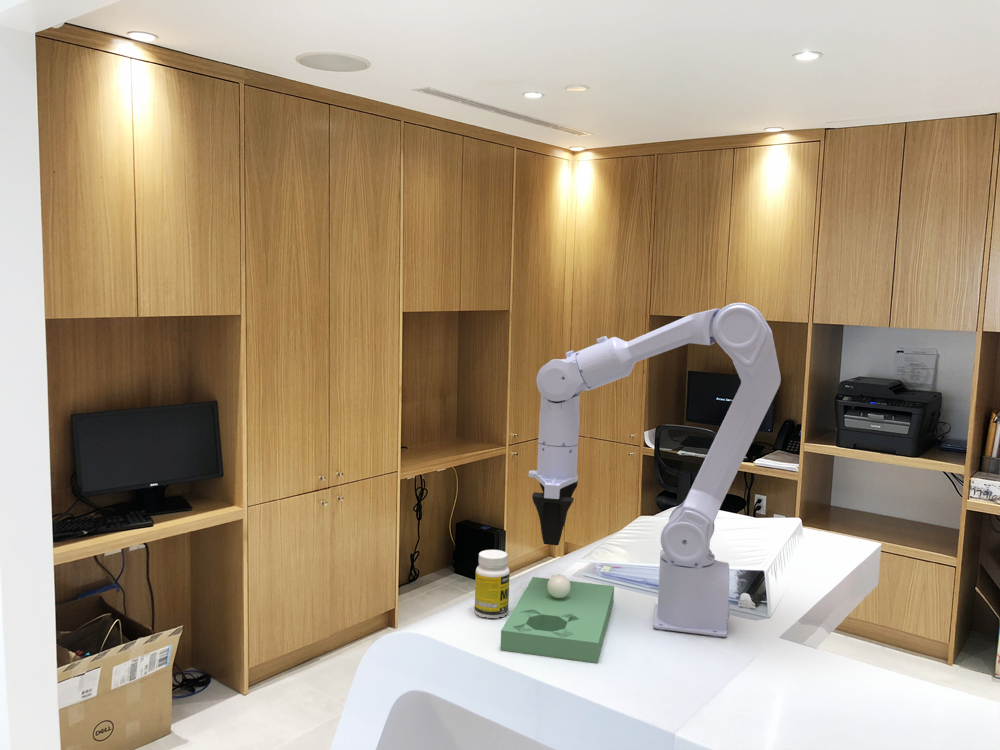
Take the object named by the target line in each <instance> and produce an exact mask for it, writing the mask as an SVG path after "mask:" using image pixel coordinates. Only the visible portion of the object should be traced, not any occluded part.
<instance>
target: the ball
mask: <svg viewBox="0 0 1000 750" xmlns="http://www.w3.org/2000/svg"><path fill="white" fill-rule="evenodd" d="M548 579H549V581H548V584H547V588H548V591H549V593H550V594H551V595H552V596H553V597H555V598H563V597H565V596H567V595H568V593H569V591H570V582H569V581H570V579H568V577H567V576H565V575H564V574H555V575H552V576H551V577H550V578H548Z"/></svg>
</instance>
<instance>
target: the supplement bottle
mask: <svg viewBox="0 0 1000 750" xmlns="http://www.w3.org/2000/svg"><path fill="white" fill-rule="evenodd" d="M508 557H509V556H508V553H507V552H506V551H503V550H500V549H485V550H482V551H480V552H479V553H478V565H477V567H476V569H475V580H474V581H475V585H474V589H475V590H474V613H475V615H477V616H478V615H480V616H483V617H487V618H486V619H488V618H497V619H500V618H499V617H502V618H504V617H506V616H507V615H508V614H509V605H510V604H509V603H510V600H509V596H510V576H511V575H510V574H511V573H510V568H509V567H508V562H509V560H508ZM505 615H506V616H505ZM480 616H479V617H480Z"/></svg>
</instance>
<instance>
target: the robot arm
mask: <svg viewBox="0 0 1000 750" xmlns="http://www.w3.org/2000/svg"><path fill="white" fill-rule="evenodd" d="M773 336H774V335H773V331H772V329H771V327H770V326H769V324H768V321H766V319H765V317H764V315H763V314H762V312H761V311H759V310H758V308H756V307H755V306H753V305H751V304H748V303H744V302H733V303H730V304H728V305H725V306H724V307H722V308H712V309H709V310H705V311H700V312H696V313H692V314H689V315H687V316H684V317H682V318H680V319H677V320H675V321H671V323H668V324H665V325H664V326H660V327H659V328H657V329H654V330H652V331H648V333H645V334H642V335H640V336H638V337H635V338H633V339H630V340H629V341H626V340H625V339H624V340H623V339H621V338H619V337H617V336H613V337H610V338H608V336H606V335H605V336H601V337H598V338H596V343H595V344H592V345H591V346H588V347H585V348H583V349H580V350H577V351H576V352H575V351H574V349H573V350H570V351H567V352H566V353H565V356H566V358H560V359H558V358H557V359H555V358H554V359H551V360H549V361H548V362H547V363H545V364H544V365H543V366H541V368H539V371H537V375H536V380H535V381H536V383H535V384H536V388H537V389H538V392H539V394H540V407H539V408H540V409H539V416H538V423H539V424H538V437H537V438H538V441H537V461H536V462H537V463H536V470H533V469H531V470H529V471H528V475H527V476H528V477H529V478H533V479H536V481H538V483H539V486H540V488H541V491H542V492H535V491H534V492H533V493H532V497H531V498H532V502H533V505H534V506H535V509H536V511H537V515H538V518H539V523H540V529H541V530H540V531H541V537H542V542H543V545H550V546H559V545H560V541H561V538H562V533H563V530H564V527H565V524H566V520H567V515H568V511H569V509H570V507H571V505H572V504H573V502H574V500H575V499H574V497H572V496H573V494H574V492H575V490H576V489H577V488H578V486H579V485H578V483H579V482H578V481H579V474H578V460H579V459H578V458H579V457H578V455H579V440H580V439H579V434H580V421H581V420H580V418H581V417H580V415H581V413H580V402H581V401H580V400H581V399H580V397H581V396H580V395H581V394H582V393H583V392H584V391H586V392H587V391H592V390H595V389H597V388H599V387H603V386H606V385H608V384H610V383H613V382H615V381H618V380H621V379H624V378H626V377H629V376H630V375H631V374H632V371H633V369H634V366H635V365H636V363H637V362H640V361H643V360H646V359H648V358H651V357H655V356H657V355H660V354H662V353H665V352H668V351H671V350H673V349H677V348H679V347H682V346H685V345H687V344H693V345H694V344H695V345H705V346H712V345H714V344H715V343H717V345H719V346H720V348H721V349H722V351H724V352H725V353H726V355H727V356H729V358H730V359H731V360H732V363H733V365H734V367H735V368H734V369H735V370H736V373H737V375H738V378H739V380H740V385H739V387H738V389H737V392H736V393H735V396H734V397H733V399H732V401H731V404H730V406H729V408H728V410H727V412H726V415H725V416H724V419H723V421H722V423H721V425H720V427H719V429H718V431H717V433H716V434H715V437H714V439H713V442H712V443H711V446H710V448H709V450H708V452H707V454H706V457H705V458H704V460H703V463H702V465H701V466H700V469H699V470H698V473H697V475H696V476H695V479H694V481H693V483H692V485H691V488H690V489H689V491H688V493H687V496H686V498H685V499H684V500H683V502H682V503H680V504H679V505H677V506H676V507H675V508H673V510H672V511H671V513H670V515H669V519H668V521H667V522H666V524H665V526H663V528H662V531H661V534H660V545H661V550H660V552H659V553H660V554H659V572H658V573H659V574H658V595H657V604H655V608H654V615H653V621H652V625H653V626H652V627H653V628H654V629H655V630H656V629H657V630H663V631H664V630H665V631H673V632H681V633H689V634H698V635H705V636H711V637H712V636H713V637H720V638H721V637H722V638H723V637H724V638H726V637H728V619H729V617H730V614H731V613H730V611H731V609H730V607H731V605H730V603H729V601H730V600H729V597H730V563H729V562H726V561H722V560H721V561H720V560H717V559H716V558H715V554H714V553H713V552H712V550H711V549H710V547H711V539H712V537H713V536H714V531H715V520H716V518H717V516H718V514H719V511H720V509H721V506H722V505H723V502H724V500H725V498H726V495H727V494H728V492H729V490H730V489H731V486H732V484H733V481H734V480H735V478H736V475H737V474H738V471H739V469H740V467H741V465H742V463H743V461H744V459H745V457H746V455H747V454H748V451H749V449H750V447H751V445H752V443H753V441H754V439H755V437H756V435H757V433H758V431H759V429H760V426H761V424H762V422H763V420H764V419H765V416H766V414H767V412H768V410H769V408H770V406H771V404H772V402H773V400H774V399H775V396H776V394H777V391H778V390H779V388H780V385H781V381H782V379H781V378H782V377H781V372H780V367H779V361H778V357H777V350H776V346H775V342H774V341H775V340H774V337H773Z"/></svg>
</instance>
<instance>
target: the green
mask: <svg viewBox="0 0 1000 750" xmlns="http://www.w3.org/2000/svg"><path fill="white" fill-rule="evenodd" d="M549 579H550V578H546V577H537V576H532V578H531V579H530V582H529V583H528V585H527V586H526V588H525V590H524V591H523V593H522V595H521V596H520V597H519V599H518V601H517V603H516V605H515V606H514V607H513V610H512V611H511V613H510V615H509V616H508V618H507V619H506V622H505V623H504V625H503V627H502V628H501V630H500V649H501V650H500V651H505V650H507V651H506V652H512V651H513V653H522V654H526V655H527V654H529V655H536V656H542V657H549V658H557V659H564V660H572V661H578V662H579V661H580V662H586V663H594V664H598V663H599V658H600V655H601V651H602V647H603V644H604V640H605V637H606V632H607V628H608V626H609V621H610V618H611V613H612V610H613V606H614V597H615V586H614V585H608V584H600V583H591V582H581V581H574V580H573V581H572V580H569V582H570V591H569V593H568V595H567V596H565V597H563V598H555V597H553V596H552V595H551V594H550V593H549V591H548V588H547V584H548V581H549Z"/></svg>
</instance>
